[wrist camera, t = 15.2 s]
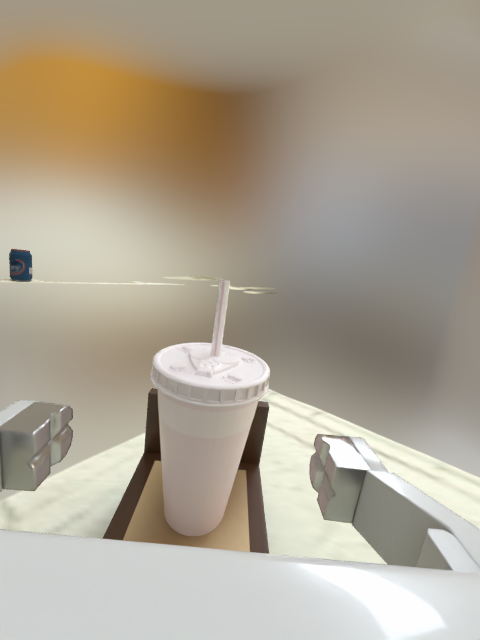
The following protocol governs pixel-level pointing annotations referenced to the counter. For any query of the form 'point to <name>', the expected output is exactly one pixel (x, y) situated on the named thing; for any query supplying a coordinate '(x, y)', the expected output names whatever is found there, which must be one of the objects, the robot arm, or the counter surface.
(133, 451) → the counter surface
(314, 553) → the counter surface
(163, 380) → the smoothie
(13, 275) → the soda can
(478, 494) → the counter surface
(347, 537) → the counter surface
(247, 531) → the wooden chair
